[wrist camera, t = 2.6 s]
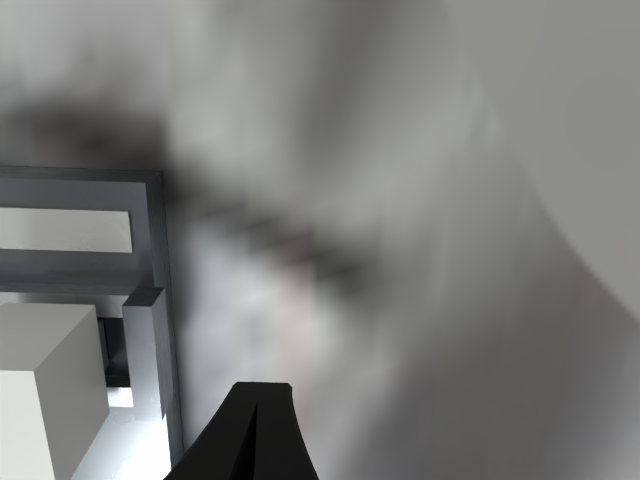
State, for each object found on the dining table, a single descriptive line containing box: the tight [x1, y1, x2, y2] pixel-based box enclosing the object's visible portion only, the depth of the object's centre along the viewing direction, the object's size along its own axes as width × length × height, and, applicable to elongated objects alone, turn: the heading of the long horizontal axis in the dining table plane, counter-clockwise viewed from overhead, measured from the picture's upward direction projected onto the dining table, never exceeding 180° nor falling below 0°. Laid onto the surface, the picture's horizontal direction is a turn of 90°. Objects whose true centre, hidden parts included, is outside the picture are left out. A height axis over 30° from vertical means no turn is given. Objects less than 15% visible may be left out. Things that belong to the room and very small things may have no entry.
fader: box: [0, 302, 110, 480], centre depth 13 cm, size 2×4×4 cm, turn 178°
